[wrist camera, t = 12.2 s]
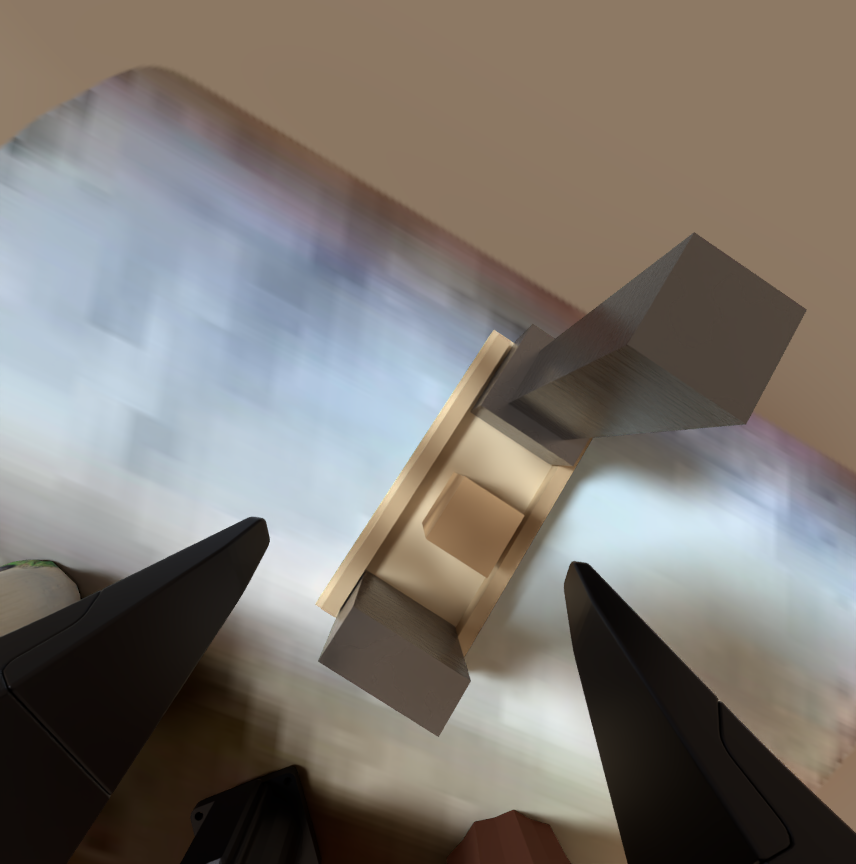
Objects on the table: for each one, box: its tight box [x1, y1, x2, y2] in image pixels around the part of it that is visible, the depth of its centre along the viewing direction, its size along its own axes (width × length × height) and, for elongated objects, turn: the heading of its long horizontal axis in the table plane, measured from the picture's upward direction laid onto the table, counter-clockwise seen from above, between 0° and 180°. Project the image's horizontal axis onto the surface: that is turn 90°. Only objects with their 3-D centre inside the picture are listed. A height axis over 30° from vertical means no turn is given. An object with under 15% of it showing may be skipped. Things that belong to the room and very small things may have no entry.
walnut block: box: [422, 472, 525, 578], centre depth 19 cm, size 4×4×4 cm
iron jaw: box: [318, 569, 471, 737], centre depth 18 cm, size 3×7×5 cm, turn 57°
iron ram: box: [471, 233, 806, 466], centre depth 15 cm, size 6×7×13 cm
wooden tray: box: [315, 330, 593, 657], centre depth 21 cm, size 22×10×2 cm, turn 147°
